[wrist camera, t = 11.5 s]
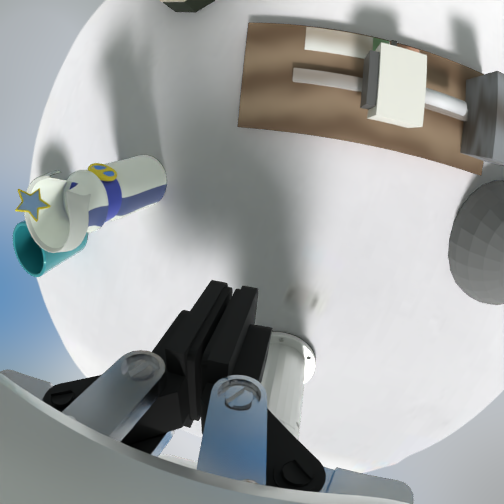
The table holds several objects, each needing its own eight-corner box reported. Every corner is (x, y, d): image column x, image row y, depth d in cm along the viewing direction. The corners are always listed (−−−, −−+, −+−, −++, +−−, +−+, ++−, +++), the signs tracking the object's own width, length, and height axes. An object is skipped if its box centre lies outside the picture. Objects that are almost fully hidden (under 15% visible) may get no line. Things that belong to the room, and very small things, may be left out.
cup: (82, 184, 43) (33, 201, 33) (93, 252, 47) (51, 280, 37) (50, 188, 45) (4, 204, 34) (61, 250, 49) (20, 274, 39)
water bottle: (131, 141, 39) (-18, 168, 16) (177, 168, 39) (33, 217, 16) (112, 189, 42) (-22, 246, 19) (155, 217, 43) (26, 299, 20)
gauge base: (474, 173, 31) (514, 186, 22) (241, 127, 36) (217, 124, 27) (482, 78, 26) (522, 69, 17) (251, 27, 30) (232, -3, 21)
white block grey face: (451, 140, 28) (470, 142, 23) (358, 116, 30) (366, 113, 25) (456, 62, 24) (474, 54, 19) (364, 35, 26) (372, 20, 21)
